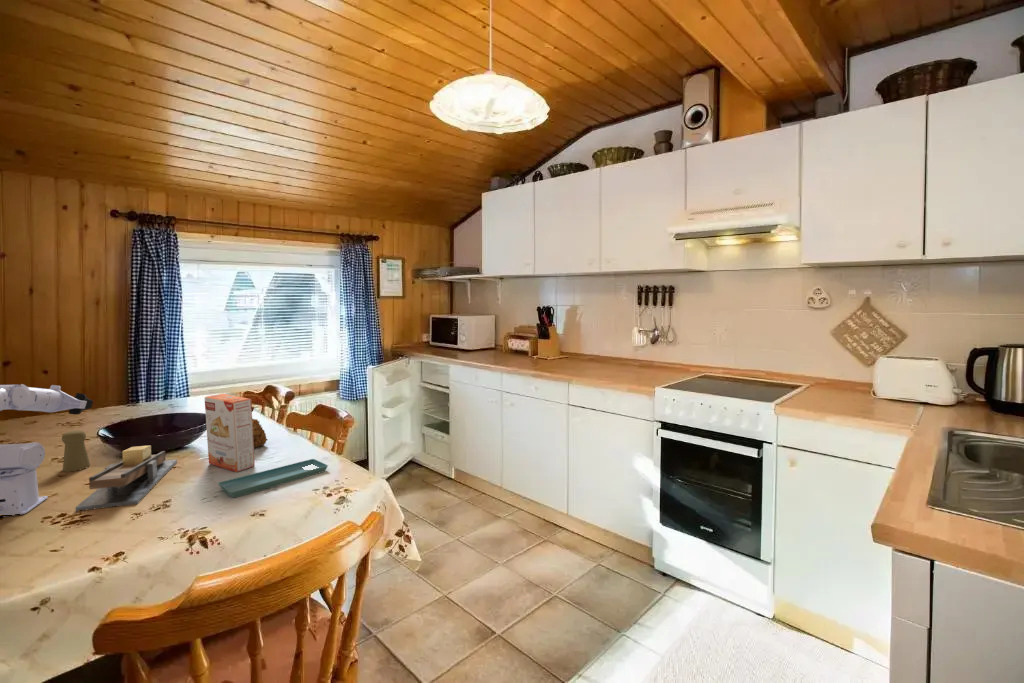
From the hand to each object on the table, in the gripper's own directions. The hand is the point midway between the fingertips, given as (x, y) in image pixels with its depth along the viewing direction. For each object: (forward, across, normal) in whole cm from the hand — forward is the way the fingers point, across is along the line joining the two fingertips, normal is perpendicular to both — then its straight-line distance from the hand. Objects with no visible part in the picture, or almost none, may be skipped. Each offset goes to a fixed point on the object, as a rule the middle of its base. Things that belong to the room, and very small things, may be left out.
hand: (75, 402), depth 133 cm
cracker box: (+6, -42, +13) cm, 44 cm away
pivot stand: (-4, -22, +19) cm, 29 cm away
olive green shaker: (+11, +1, +19) cm, 22 cm away
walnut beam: (-5, -21, +15) cm, 27 cm away
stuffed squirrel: (+25, -40, +8) cm, 47 cm away
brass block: (-1, -20, +14) cm, 25 cm away
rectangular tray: (-6, -59, +14) cm, 61 cm away
